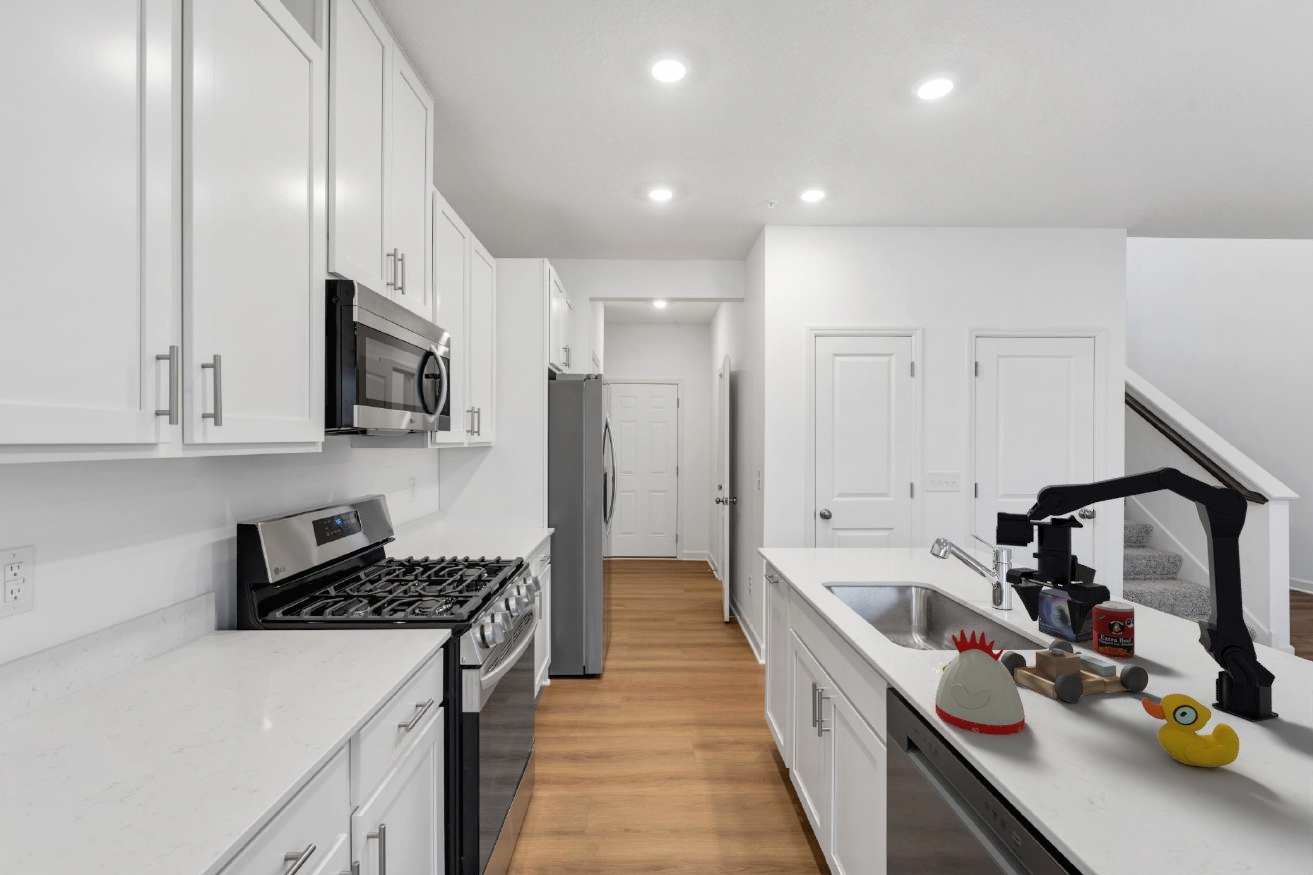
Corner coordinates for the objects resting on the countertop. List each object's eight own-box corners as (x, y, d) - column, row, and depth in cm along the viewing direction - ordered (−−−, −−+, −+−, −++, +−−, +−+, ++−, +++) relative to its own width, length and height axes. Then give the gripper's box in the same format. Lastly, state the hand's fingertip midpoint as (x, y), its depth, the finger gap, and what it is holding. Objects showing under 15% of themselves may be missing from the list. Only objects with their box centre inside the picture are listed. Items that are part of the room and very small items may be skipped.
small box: (1036, 630, 158) (1035, 589, 158) (1055, 628, 160) (1055, 587, 160) (1075, 643, 148) (1075, 599, 148) (1095, 640, 150) (1095, 597, 150)
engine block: (1080, 687, 121) (1080, 652, 121) (1056, 690, 119) (1055, 655, 119) (1059, 678, 125) (1059, 645, 125) (1035, 682, 124) (1035, 647, 124)
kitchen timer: (947, 694, 119) (946, 615, 119) (1030, 714, 110) (1030, 629, 111) (925, 719, 108) (924, 633, 109) (1015, 743, 100) (1015, 649, 100)
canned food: (1095, 655, 140) (1095, 606, 140) (1090, 645, 147) (1090, 598, 147) (1138, 661, 136) (1137, 610, 136) (1130, 650, 143) (1130, 602, 143)
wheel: (1073, 663, 134) (1073, 640, 134) (1056, 665, 133) (1055, 642, 133) (1065, 660, 136) (1065, 638, 136) (1048, 662, 135) (1048, 640, 135)
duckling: (1147, 763, 93) (1147, 696, 93) (1137, 747, 98) (1136, 683, 98) (1246, 780, 88) (1246, 709, 88) (1230, 762, 93) (1229, 695, 93)
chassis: (1148, 692, 119) (1148, 665, 119) (1063, 705, 114) (1062, 677, 114) (1079, 666, 133) (1079, 642, 133) (1000, 676, 127) (999, 652, 128)
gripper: (1132, 554, 117) (1132, 637, 117) (1044, 539, 135) (1045, 611, 135) (1086, 558, 114) (1087, 643, 114) (1003, 542, 132) (1004, 616, 132)
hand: (1054, 627), depth 124 cm, fingers open, 9 cm apart
